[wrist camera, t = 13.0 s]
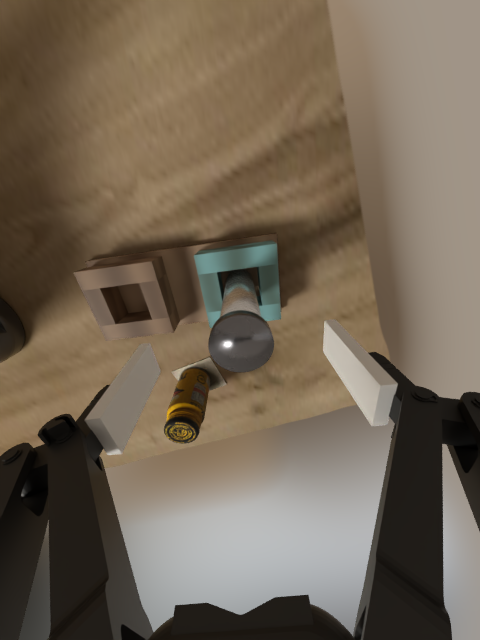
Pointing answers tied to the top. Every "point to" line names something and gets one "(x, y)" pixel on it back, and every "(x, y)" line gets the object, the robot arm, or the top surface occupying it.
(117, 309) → the dock station
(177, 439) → the condiment
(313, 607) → the robot arm
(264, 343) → the steel pin
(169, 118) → the top surface
